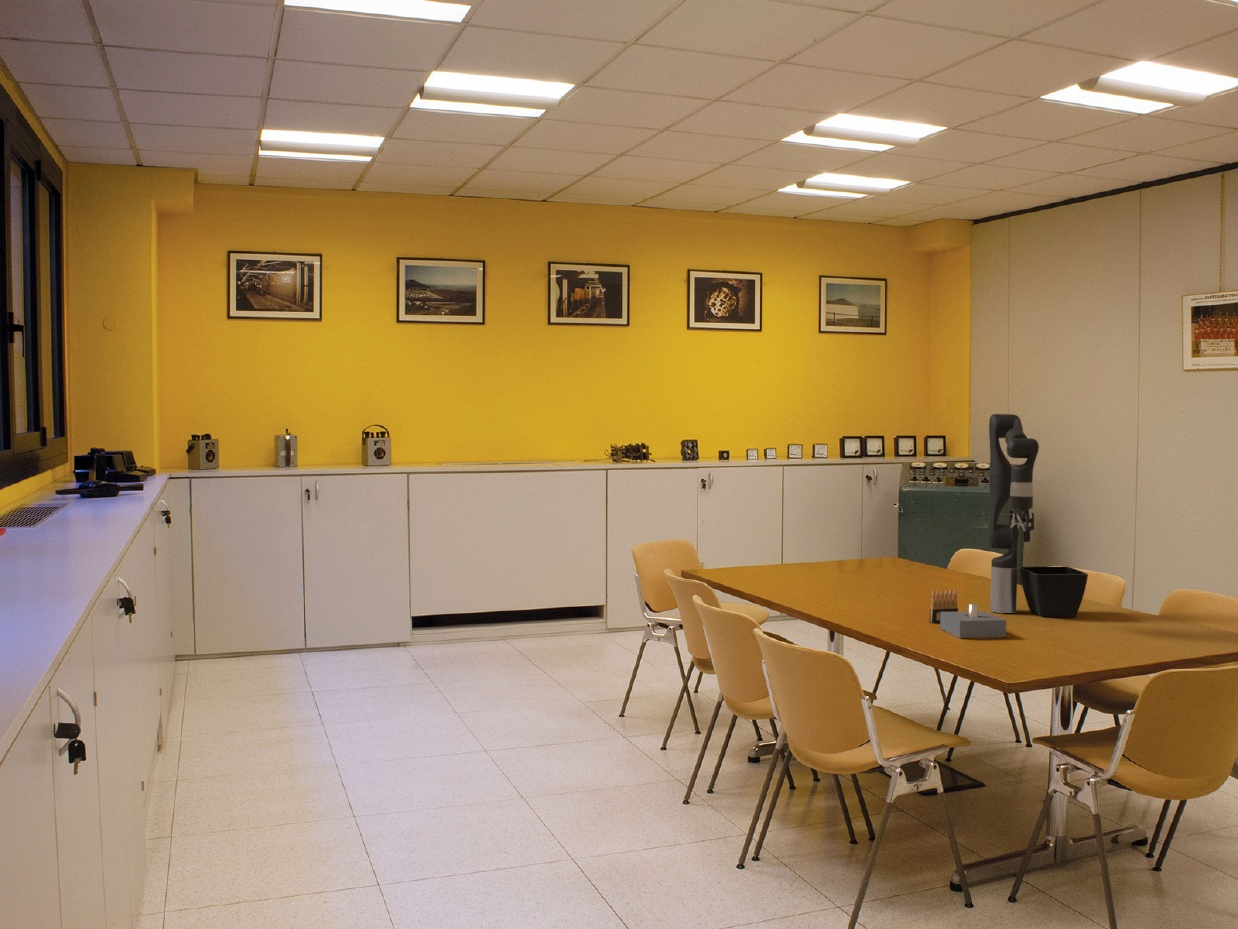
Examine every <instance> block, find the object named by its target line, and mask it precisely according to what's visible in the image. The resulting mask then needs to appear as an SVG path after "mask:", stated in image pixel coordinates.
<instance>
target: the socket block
mask: <svg viewBox="0 0 1238 929" xmlns="http://www.w3.org/2000/svg"><path fill="white" fill-rule="evenodd" d="M939 630H941V631H943V630H945V631H946V633H947V632H948V633H947V634H949V633H951V634H953V635H954V636H953V635H952V636H953V637H955V636H956V638H957V637H959V638H978V639H989V638H988V637H991V638H990V639H995V638H994V637H1006V638H1007V620H1006V619H1004V618H1002V617H999V616H997V615H994V614H993V613H990V612H987V611H986V610H982V611H981V610H978V617H968V610H967V611H958V612H940V623H939ZM945 631H944V632H945ZM951 634H950V635H951ZM981 637H982V638H981ZM984 637H985V638H984ZM959 638H958V639H959Z"/></svg>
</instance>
